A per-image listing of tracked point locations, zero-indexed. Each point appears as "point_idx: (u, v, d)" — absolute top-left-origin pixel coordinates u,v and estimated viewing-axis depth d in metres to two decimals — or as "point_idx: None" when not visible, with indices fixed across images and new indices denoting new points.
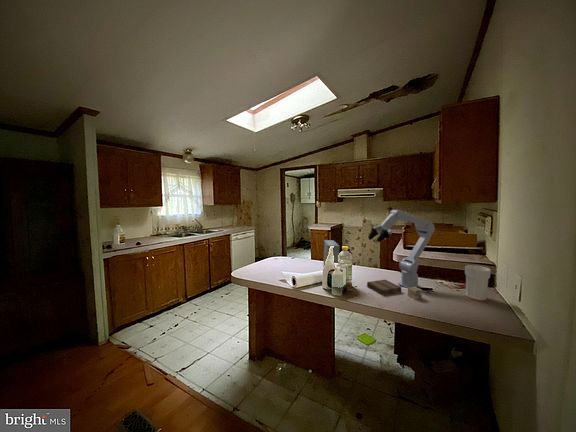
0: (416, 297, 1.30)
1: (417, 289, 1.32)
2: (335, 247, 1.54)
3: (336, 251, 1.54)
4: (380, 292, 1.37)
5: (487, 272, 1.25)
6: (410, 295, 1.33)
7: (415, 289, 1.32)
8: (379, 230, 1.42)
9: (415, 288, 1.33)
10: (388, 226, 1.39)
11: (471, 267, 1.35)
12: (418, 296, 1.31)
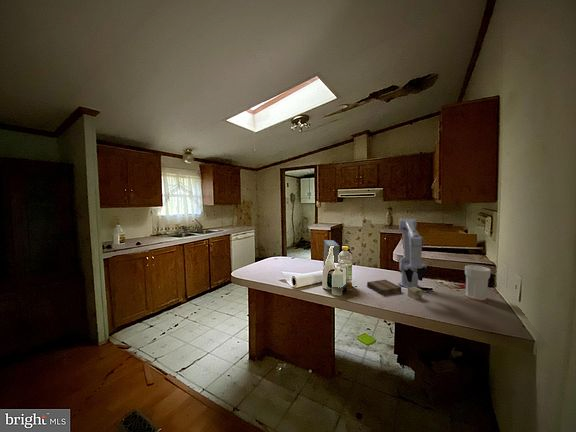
0: (416, 297, 1.30)
1: (417, 289, 1.32)
2: (335, 247, 1.54)
3: (336, 251, 1.54)
4: (380, 292, 1.37)
5: (487, 272, 1.25)
6: (410, 295, 1.33)
7: (415, 289, 1.32)
8: (413, 268, 1.31)
9: (415, 288, 1.33)
10: None
11: (471, 267, 1.35)
12: (418, 296, 1.31)
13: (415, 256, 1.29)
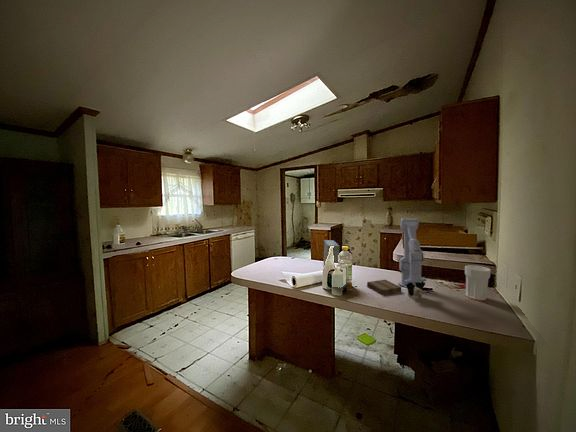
0: (416, 297, 1.30)
1: (417, 289, 1.32)
2: (335, 247, 1.54)
3: (336, 251, 1.54)
4: (380, 292, 1.37)
5: (487, 272, 1.25)
6: (410, 295, 1.33)
7: (415, 289, 1.32)
8: None
9: (415, 288, 1.33)
10: None
11: (471, 267, 1.35)
12: (418, 296, 1.31)
13: (415, 270, 1.29)
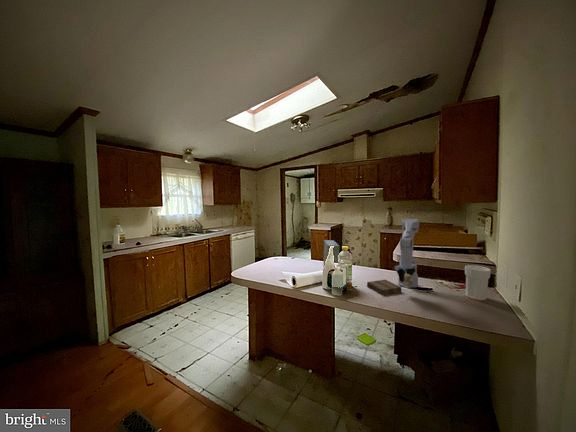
0: (407, 283, 1.33)
1: (408, 275, 1.35)
2: (335, 247, 1.54)
3: (336, 251, 1.54)
4: (380, 292, 1.37)
5: (487, 272, 1.25)
6: None
7: (406, 275, 1.35)
8: (404, 268, 1.35)
9: (406, 274, 1.36)
10: None
11: (471, 267, 1.35)
12: (408, 282, 1.34)
13: (404, 256, 1.33)
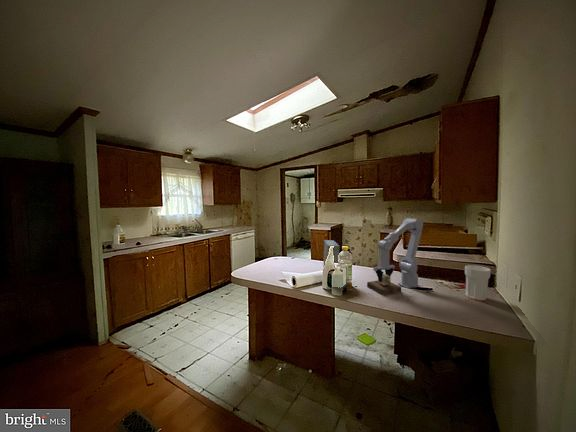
0: (385, 283, 1.41)
1: (386, 276, 1.43)
2: (335, 247, 1.54)
3: (336, 251, 1.54)
4: (380, 292, 1.37)
5: (487, 272, 1.25)
6: None
7: (384, 276, 1.43)
8: (382, 269, 1.43)
9: (384, 275, 1.44)
10: None
11: (471, 267, 1.35)
12: (386, 282, 1.42)
13: (379, 257, 1.43)
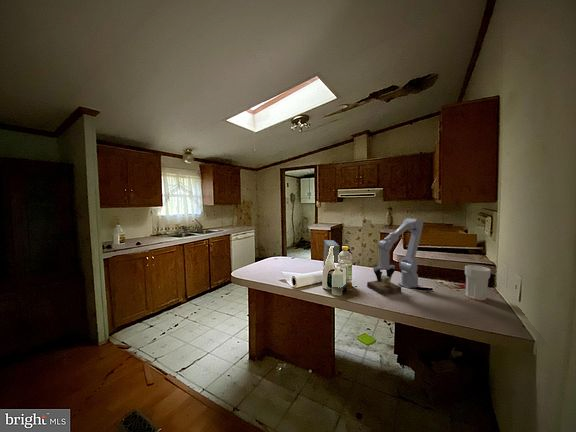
0: (385, 284, 1.41)
1: (386, 277, 1.43)
2: (335, 247, 1.54)
3: (336, 251, 1.54)
4: (380, 292, 1.37)
5: (487, 272, 1.25)
6: (380, 283, 1.44)
7: (384, 277, 1.43)
8: (382, 269, 1.43)
9: (384, 276, 1.44)
10: None
11: (471, 267, 1.35)
12: (386, 283, 1.42)
13: (379, 257, 1.43)
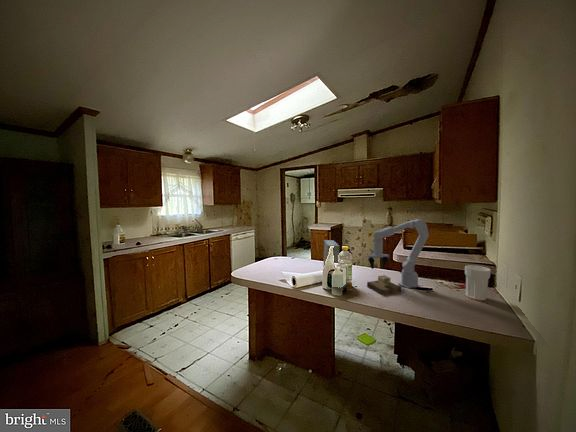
0: (385, 284, 1.41)
1: (386, 277, 1.43)
2: (335, 247, 1.54)
3: (336, 251, 1.54)
4: (380, 292, 1.37)
5: (487, 272, 1.25)
6: (380, 283, 1.44)
7: (384, 277, 1.43)
8: (376, 257, 1.56)
9: (384, 276, 1.44)
10: None
11: (471, 267, 1.35)
12: (386, 283, 1.42)
13: None
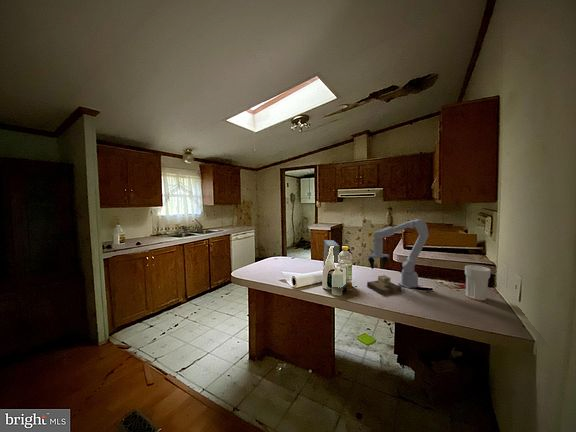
0: (385, 284, 1.41)
1: (386, 277, 1.43)
2: (335, 247, 1.54)
3: (336, 251, 1.54)
4: (380, 292, 1.37)
5: (487, 272, 1.25)
6: (380, 283, 1.44)
7: (384, 277, 1.43)
8: (376, 257, 1.56)
9: (384, 276, 1.44)
10: None
11: (471, 267, 1.35)
12: (386, 283, 1.42)
13: None
